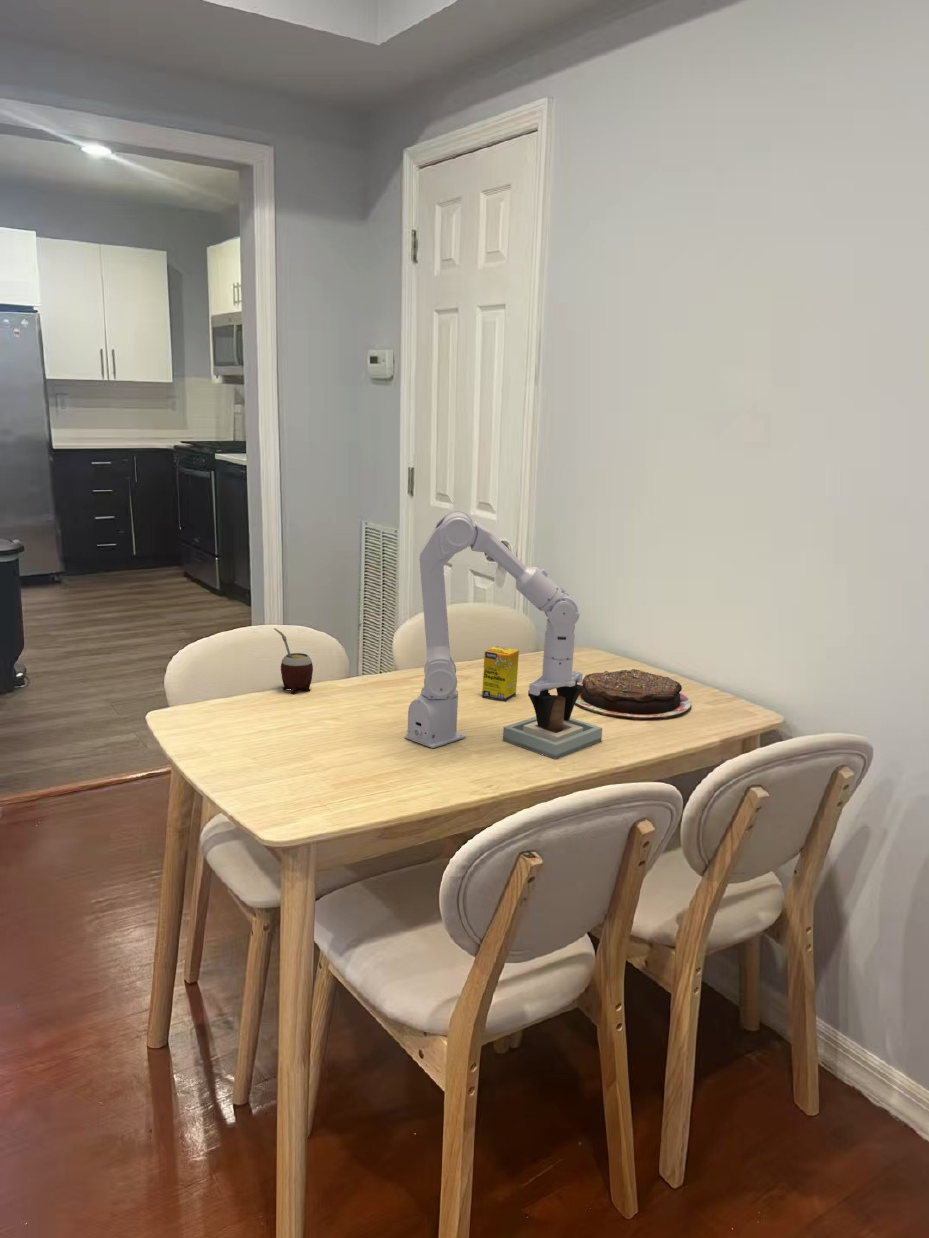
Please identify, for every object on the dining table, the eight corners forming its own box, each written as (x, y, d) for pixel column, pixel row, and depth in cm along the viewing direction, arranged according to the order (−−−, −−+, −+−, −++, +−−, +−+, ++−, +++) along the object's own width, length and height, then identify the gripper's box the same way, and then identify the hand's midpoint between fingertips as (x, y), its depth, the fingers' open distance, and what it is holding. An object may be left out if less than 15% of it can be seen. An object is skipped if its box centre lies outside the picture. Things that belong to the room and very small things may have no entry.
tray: (555, 759, 169) (556, 745, 169) (502, 740, 178) (503, 727, 177) (601, 741, 180) (602, 727, 180) (549, 724, 189) (550, 711, 188)
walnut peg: (552, 741, 176) (555, 702, 174) (537, 735, 179) (540, 696, 177) (566, 737, 179) (569, 699, 177) (551, 731, 182) (554, 693, 180)
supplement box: (481, 697, 205) (483, 650, 203) (493, 691, 210) (495, 645, 208) (505, 702, 202) (508, 654, 200) (516, 695, 208) (519, 649, 205)
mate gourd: (316, 686, 207) (316, 622, 204) (306, 697, 199) (307, 630, 196) (284, 684, 208) (284, 620, 204) (273, 694, 200) (273, 628, 197)
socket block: (556, 747, 173) (557, 736, 173) (522, 736, 179) (523, 725, 178) (582, 738, 179) (583, 727, 179) (548, 727, 185) (549, 716, 184)
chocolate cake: (541, 698, 208) (543, 670, 207) (615, 678, 227) (618, 653, 226) (643, 731, 188) (645, 701, 187) (714, 707, 207) (717, 679, 206)
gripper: (551, 666, 167) (546, 736, 170) (597, 654, 178) (591, 720, 181) (522, 658, 172) (518, 726, 175) (568, 647, 183) (563, 711, 186)
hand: (553, 723), depth 178 cm, fingers open, 6 cm apart
